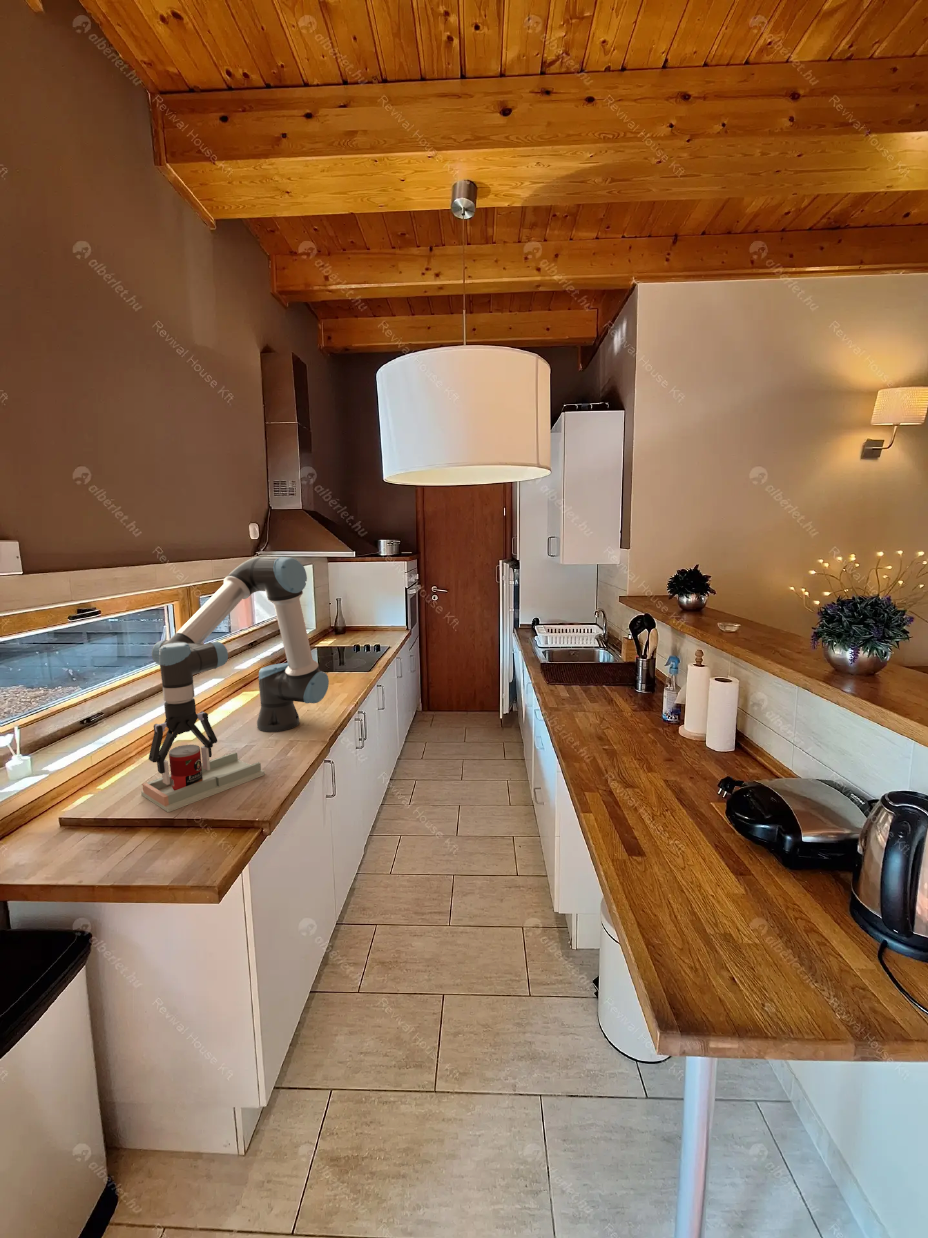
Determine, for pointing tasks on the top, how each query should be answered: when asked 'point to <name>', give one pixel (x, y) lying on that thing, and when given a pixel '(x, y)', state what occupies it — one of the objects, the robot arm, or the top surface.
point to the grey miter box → (203, 783)
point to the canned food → (185, 766)
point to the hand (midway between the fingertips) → (187, 775)
